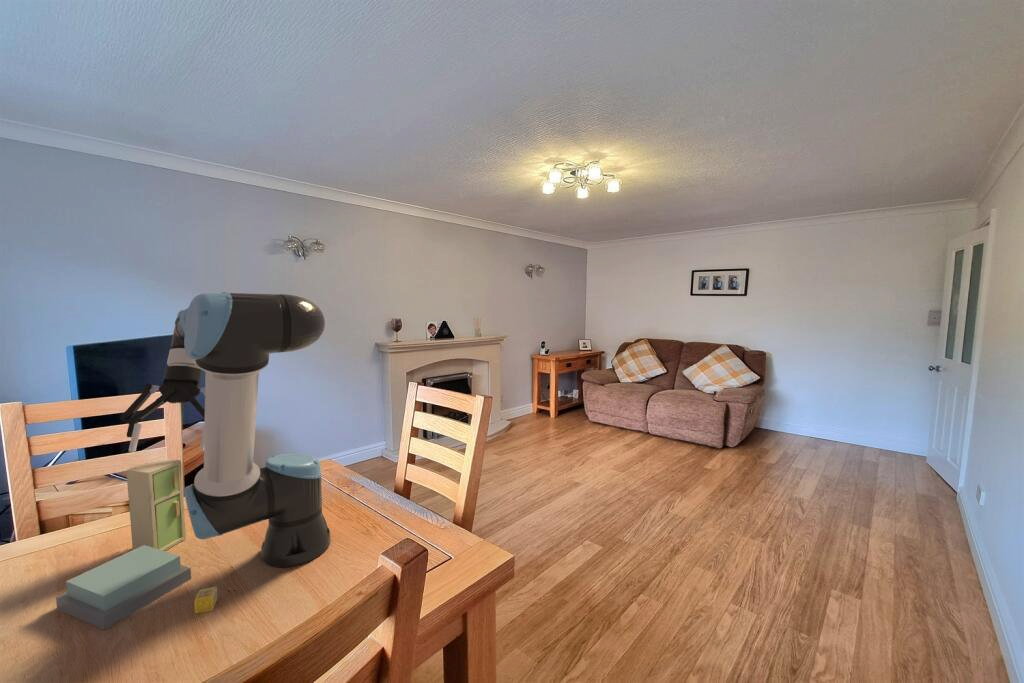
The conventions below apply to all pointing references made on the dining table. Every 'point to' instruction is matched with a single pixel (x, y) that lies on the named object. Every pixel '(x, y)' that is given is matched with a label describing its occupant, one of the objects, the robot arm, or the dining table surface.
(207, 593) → the alphabet block
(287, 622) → the dining table surface
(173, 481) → the toy refrigerator
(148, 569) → the brick stand
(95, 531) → the dining table surface
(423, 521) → the dining table surface
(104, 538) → the dining table surface
